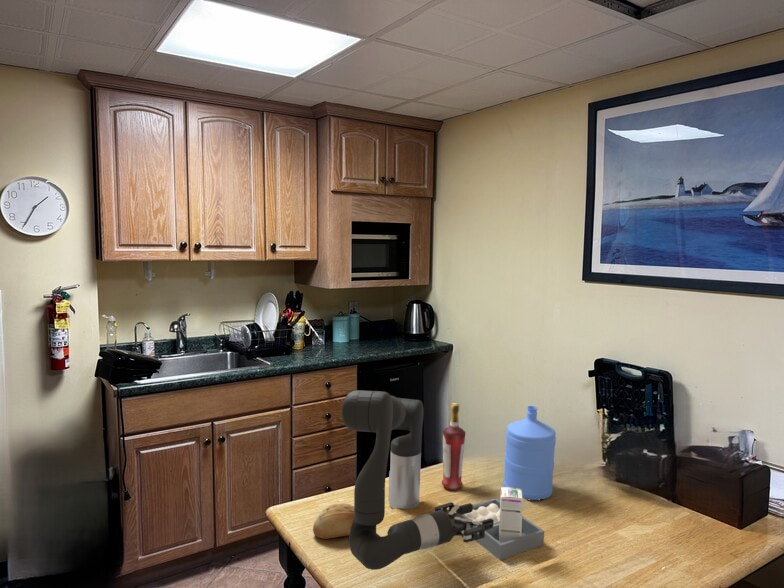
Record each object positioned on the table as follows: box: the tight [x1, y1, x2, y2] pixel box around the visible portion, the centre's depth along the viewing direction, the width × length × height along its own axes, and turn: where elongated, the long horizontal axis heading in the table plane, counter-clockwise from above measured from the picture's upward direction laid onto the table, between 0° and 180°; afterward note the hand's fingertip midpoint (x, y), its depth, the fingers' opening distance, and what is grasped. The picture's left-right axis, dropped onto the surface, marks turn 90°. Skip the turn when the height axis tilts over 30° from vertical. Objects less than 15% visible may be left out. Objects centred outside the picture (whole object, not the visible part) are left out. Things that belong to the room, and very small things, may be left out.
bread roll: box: [312, 503, 354, 540], centre depth 153 cm, size 10×15×8 cm, turn 109°
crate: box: [461, 497, 545, 561], centre depth 153 cm, size 20×15×5 cm
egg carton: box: [464, 503, 500, 525], centre depth 157 cm, size 8×12×5 cm
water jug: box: [502, 405, 557, 501], centre depth 179 cm, size 16×16×28 cm
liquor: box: [441, 402, 466, 491], centre depth 180 cm, size 7×7×28 cm
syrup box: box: [499, 486, 524, 543], centre depth 148 cm, size 6×6×14 cm
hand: (481, 514), depth 143 cm, fingers open, 8 cm apart
